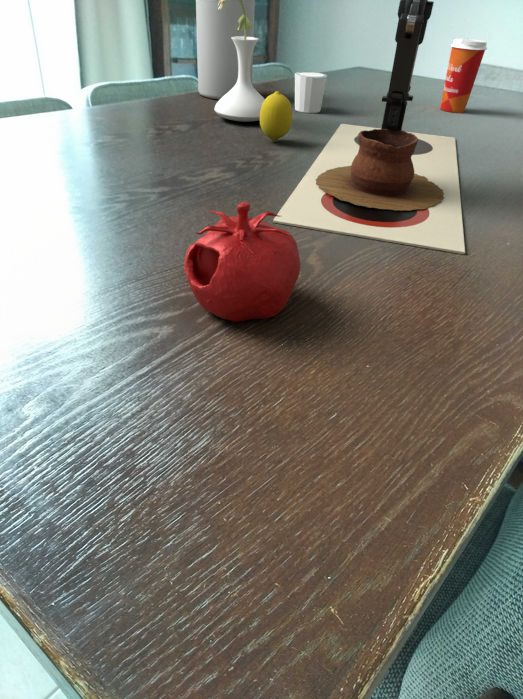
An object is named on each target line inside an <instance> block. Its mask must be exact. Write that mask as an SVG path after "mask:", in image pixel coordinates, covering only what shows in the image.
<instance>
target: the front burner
mask: <svg viewBox="0 0 523 699" xmlns="http://www.w3.org/2000/svg"><path fill="white" fill-rule="evenodd" d="M321 203H322V205H323V207H324V208H325V209H326V210H327V211H329V212H330V213H332V214H333V215H335V216H337V217H339V218H342V219H344V220H347V221H351V222H354V223H358V224H362V225H368V226H375V227H389V228H395V227H407V226H413V225H417V224H419V223H422V222H424V221H425V220H426V219H427V218H428V217H429V214H430V213H429V210H428V208H427V209H416V210H411V211H408V210H402V211H400V210H396V211H395V210H391V209H378V208H369V207H365V206H360V205H355V204H353V203H350V202H347V201H344V200H339V199H338V198H336V197H334V196H332V195H329V193H325V194H324V195H323V196H322V198H321Z"/></svg>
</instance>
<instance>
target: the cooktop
mask: <svg viewBox="0 0 523 699" xmlns="http://www.w3.org/2000/svg"><path fill="white" fill-rule="evenodd" d="M373 129H381V127H380V128H379V127H373V126H363V125H354V124H347V123H340V125H339V126H338V128H337V129H336V130H335V132H334V133H333V135H332V136H331V137H330V139H329V140H328V141H327V143H326V145H325V146H324V147H323V149H321V151H320V153H319V155H318V156H317V157H316V159H315V160H314V161H313V163H312V165H310V167H309V169H308V170H307V172H306V173H305V175H304V176H303V177H302V179H301V180H300V181H299V183H298V184H297V186H296V187H295V189H294V190H293V191H292V193H291V194H290V195H289V197H288V198H287V200H286V201H285V203H284V204H283V205H282V206H281V208H280V210H279V211H278V212H277V214H276V215H279V216H280V217H278V216H274V218H273V220H272V223H274V224H278V225H285V226H289V227H290V226H291V227H297V228H302V229H308V230H314V231H315V230H316V231H321V232H325V233H326V232H327V233H334V234H338V235H345V236H349V237H350V236H351V237H357V238H363V239H368V240H369V239H370V240H376V241H381V242H387V243H393V244H399V245H405V246H411V247H417V248H423V249H430V250H434V251H435V250H436V251H441V252H447V253H454V254H458V255H465V254H466V246H465V236H464V234H465V233H464V223H463V213H462V212H463V211H462V201H461V190H460V189H461V188H460V180H459V179H460V178H459V167H458V156H457V145H456V137H454V136H452V137H451V136H443V135H435V134H429V133H428V134H427V133H422V132H421V133H419V132H412V131H406V132H407V133H412V134H414V135H415V136H416V137H417V138H418V142H417V145H416V148H415V151H414V153H413V154H412V156H411V160H412V163H413V167H414V173H415V174H417V175H420V176H425V177H426V178H427V179H428V180H427V181H430V182H431V181H432V183H435V185H438V187H439V188H440V189H442V190H443V191H442V192H443V193H444V194H443V197H444V199H443V200H441V202H440V203H438V202H437V204H436V205H433V206H429V207H427V208H428V210H429V213H430V214H429V217H428V218H427V219H426V220H425V221H424V222H422V223H419V224H417V225H413V226H407V227H395V228H389V227H375V226H368V225H362V224H358V223H354V222H351V221H347V220H344V219H342V218H339V217H337V216H335V215H333V214H332V213H330V212H329V211H327V210H326V209H325V208H324V207H323V205H322V203H321V198H322V196H323V195H324V194H325V192H324V190H322V189H321V188H318V187H319V185H318V184H316V179H317V178H318V176H319V175H320V174H321V173H324V172H326V171H327V170H330V169H334V168H338V167H345V166H351V165H352V162H353V160H354V158H355V156H356V155H357V154H358V151H359V141H358V134H359V132H360V131H364V130H365V131H366V130H367V131H370V130H373Z"/></svg>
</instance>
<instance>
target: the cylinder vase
mask: <svg viewBox="0 0 523 699" xmlns="http://www.w3.org/2000/svg"><path fill="white" fill-rule="evenodd" d="M219 2H220V0H195V15H196V16H195V18H196V19H195V20H196V21H195V22H196V23H195V24H196V57H197V58H196V59H197V60H196V61H197V63H196V64H197V91H198V94H199V95H200V96H202V97H204V98H207V99H212V100H217V101H219V100H220V99H221V98H222V97H223V96H224V95H225V94H227V93H228V92H229V91H230V90H231V89H232V88H233V87H234V86H235V85H236V83H237V80H238V71H239V68H238V55H237V49H236V46H235V44H234V42H233V40H232V38H231V37H236V36H243V37H244V29H243V28H241V30H240V31H239V32H237V29H238V27H239V23H238V20H239V18H240V17H241V16H242V15H243V9H242V6H241V3H240V0H227V1H226V3H225V5H224V6H223V8H222V9H221V10H220V9H219V10H218V8H219V7H220V5H221V4H220V5H219V6H218V4H219ZM242 2H243V6H244V9H245V14H246V16H247V18H248V20H249V21H250V23H251V25H252V27H251V28H250V29H248V30H246V37H254V38H255V36H254V34H255V8H256V0H242ZM253 64H254V52H253V53H252V57H251V65H250V79H251V83H252V84H253V70H254V69H253V67H254V65H253Z"/></svg>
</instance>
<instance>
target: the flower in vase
mask: <svg viewBox="0 0 523 699" xmlns="http://www.w3.org/2000/svg"><path fill="white" fill-rule="evenodd" d="M226 1H227V0H220V2H219V4H218V6H219V5H220V4H221V5H220V7H219V8H218V10H219V9H220V10H221V9H222V8H223V6H224V5H225V3H226ZM240 3H241V6H242V9H243V15H242V16H241V17H240V18H239V20H238V23H239V27H238V29H237V32H239V31H240V30H241V28H243V29H244V37H243V36H236V37H231V38H232V40H233V42H234V44H235V46H236V49H237V55H238V68H239V71H238V80H237V83H236V85H235V86H234V87H233V88H232V89H231V90H230V91H229V92H228V93H227V94H225V95H224V96H223V97H222V98H221V99H220V100H217V102H216V103H215V105H214V112H215V113H216V115H217V116H220V117H221V118H223V119H226V120H230V121H234V122H243V123H244V122H245V123H246V122H247V123H248V122H260V110H261V107H262V104H263V102H264V100H265V99H266V98H264V96H262V95H261V94H260V93H259V91H257V89H256V88H255V87H254V86H253V82H252V83H251V79H250V65H251V57H252V53H253V54H254V50H255V47H256V45H257V43H258V42H259V40H260V38H258V37H255V36H254V37H246V30H248V29H250V28H251V27H252V25H251V23H250V21H249V20H248V18H247V16H246V14H245V9H244V6H243V2H242V0H240Z"/></svg>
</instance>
